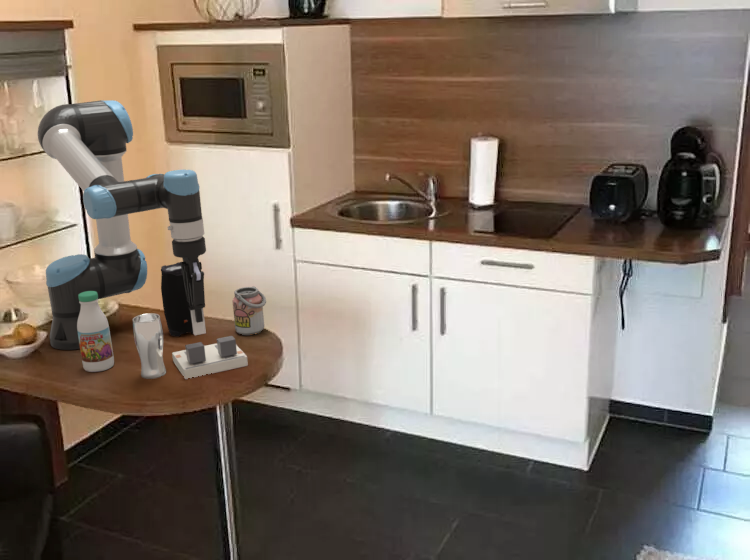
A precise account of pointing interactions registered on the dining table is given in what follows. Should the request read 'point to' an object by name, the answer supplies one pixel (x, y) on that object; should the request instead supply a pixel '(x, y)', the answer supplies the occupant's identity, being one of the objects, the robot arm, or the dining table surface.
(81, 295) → the milk bottle
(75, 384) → the dining table surface
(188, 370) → the switch panel
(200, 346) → the tab
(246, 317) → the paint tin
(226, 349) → the tab
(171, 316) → the portable speaker
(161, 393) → the dining table surface
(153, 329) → the beer glass
